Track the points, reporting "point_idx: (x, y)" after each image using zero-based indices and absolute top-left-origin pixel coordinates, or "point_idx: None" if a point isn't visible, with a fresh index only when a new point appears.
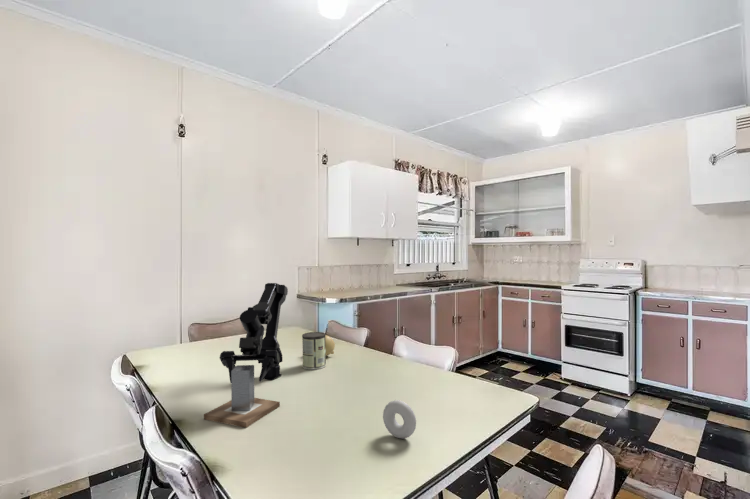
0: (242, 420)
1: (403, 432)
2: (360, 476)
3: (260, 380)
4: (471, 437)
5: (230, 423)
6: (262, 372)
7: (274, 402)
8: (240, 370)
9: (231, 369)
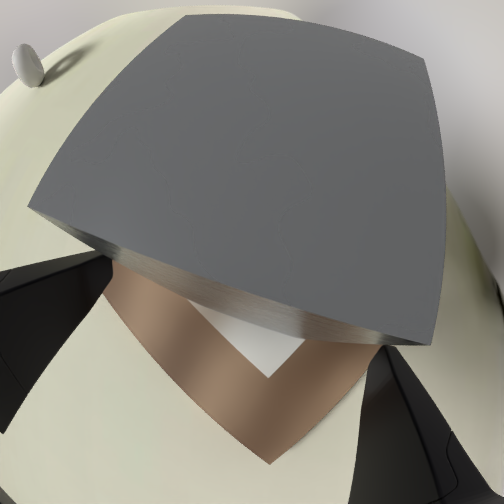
0: None
1: (41, 64)
2: (133, 21)
3: None
4: (8, 89)
5: None
6: (39, 268)
7: (112, 282)
8: (298, 20)
9: (434, 449)
